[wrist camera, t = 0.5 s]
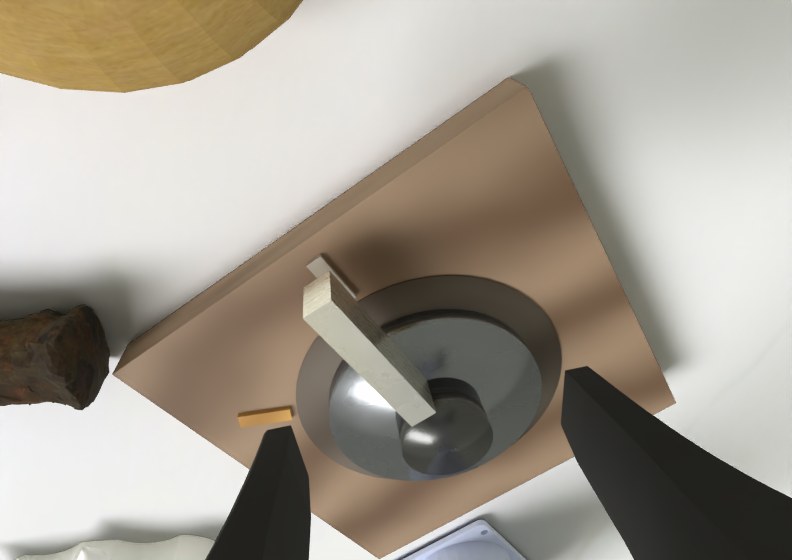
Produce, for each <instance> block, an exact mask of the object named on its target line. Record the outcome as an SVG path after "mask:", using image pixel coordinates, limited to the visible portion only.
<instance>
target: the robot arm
mask: <svg viewBox="0 0 792 560" xmlns="http://www.w3.org/2000/svg"><path fill="white" fill-rule="evenodd" d="M561 426H562V429H563V431H564V433H565V436H566V438H567V440H568V443H569V445H570V447H571V449H572V451H573V454H574V456H575V458H576V460H577V462H578V464H579V466H580V467H581V469H582V471H583V472H584V474H585V476H586V478H587V479H588V481H589V483H590V484H591V486H592V488H593V490H594V491H595V493H596V495H597V496H598V498H599V500H600V501H601V503H602V505H603V506H604V508H605V510H606V511H607V513H608V515H609V516H610V518H611V520H612V522H613V523H614V525H615V527H616V528H617V530H618V532H619V533H620V535H621V537H622V538H623V540H624V542H625V544H626V545H627V547H628V549H629V551H630V553H631V555H632V556H633V558H634V560H792V498H791V497H789V496H787V495H785V494H783V493H781V492H779V491H776V490H774V489H772V488H770V487H769V486H767V485H765V484H763V483H761V482H759V481H757V480H755V479H753V478H752V477H750V476H748V475H746V474H745V473H743V472H741V471H739V470H738V469H736V468H734V467H732V466H730V465H729V464H727V463H725V462H723V461H722V460H720V459H718V458H717V457H715V456H713V455H712V454H710V453H708V452H707V451H705V450H704V449H702V448H700V447H699V446H697V445H696V444H694V443H693V442H691V441H690V440H688V439H687V438H685V437H683V436H682V435H680V434H679V433H678V432H676V431H675V430H673V429H672V428H670V427H669V426H667V425H666V424H665V423H663V422H662V421H660V420H659V419H658V418H656V417H655V416H653V415H652V414H651V413H649V412H648V411H646V410H645V409H644V408H642V407H641V406H640V405H638V404H637V403H635V402H634V401H633V400H631V399H630V398H629V397H628V396H626V395H625V394H624V393H622V392H621V391H620V390H618V389H617V388H616V387H614V386H613V385H612V384H610V383H609V382H608V381H607V380H605V379H604V378H603V377H601V376H600V375H599V374H597V373H596V372H595V371H593V370H592V369H591V368H589V367H588V366H584V367H579V368H574V369H569V370H565V375H564V388H563V401H562V414H561ZM310 525H311V508H310V488H309V475H308V473H307V470H306V467H305V464H304V461H303V458H302V455H301V452H300V450H299V447H298V444H297V441H296V438H295V435H294V432H293V429H292V427H291V425H290V426H285V427H280V428H275V429H270V430H267V431H266V432H265V433H264V435H263V438H262V440H261V443H260V446H259V448H258V451H257V453H256V456H255V458H254V461H253V463H252V466H251V468H250V470H249V473H248V475H247V477H246V480H245V482H244V484H243V486H242V488H241V490H240V493H239V495H238V497H237V499H236V501H235V503H234V505H233V508H232V510H231V512H230V514H229V516H228V518H227V520H226V522H225V524H224V525H223V527H222V529H221V531H220V533H219V535H218V537H217V539H216V541H215V542H214V544H213V546H212V548H211V550H210V552H209V554H208V555H207V557H206V559H205V560H309V544H310ZM402 560H526V559H525V558H524V557H523V556H522V555H521V554H520V553H519V552H518V551H517V550H516V549H515V548H514V547H512V546H511V545H510V544H509V543H508V542H507V541H506V540H505V539H504V538H503V537H502V536H501V535H500V534H499V533H498V532H497V531H496V530H494V529H493V528H492V527H491V526H490V525H489V524H488V523H487V522H486V521H484V520H477V521H475V522H473V523H471V524H469V525H467V526H466V527H464V528H462V529H460V530H458V531H456V532H454V533H452V534H450V535H448V536H446V537H444V538H442V539H441V540H439V541H437V542H435V543H433V544H431V545H429V546H427V547H425V548H423V549H421V550H419V551H418V552H416V553H414V554H412V555H410V556H408V557H406V558H404V559H402Z"/></svg>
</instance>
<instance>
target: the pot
mask: <svg viewBox="0 0 792 560" xmlns="http://www.w3.org/2000/svg"><path fill="white" fill-rule="evenodd" d="M302 1H303V0H0V73H2V74H6V75H10V76H14V77H18V78H21V79H25V80H29V81H33V82H37V83H41V84H45V85H48V86H52V87H56V88H60V89H74V90H90V91H106V92H122V93H125V92H131V91H137V90H143V89H149V88H155V87H161V86H167V85H173V84H179V83H184V82H186V81H190V80H192V79H195V78H197V77H199V76H201V75H203V74H206V73H208V72H210V71H212V70H214V69H217V68H219V67H221V66H223V65H225V64H227V63H230V62H232V61H234V60H236V59H238V58H240V57H241V56H243V55H244V54H245V53H246V52H248V51H249V50H251V49H253V48H254V47H255V46H256V45H258V44H259V43H260V42H261V41H262V40H264V39H265V38H266V37H267V36H268V35H270V34H271V33H272V32H273V31H275V30H276V29H277V28H278V27H279V26H281V25H282V24H283V23H284V22H286V21H287V20H288V19H289V18H290V17H291V15H292V14H293V13H294V11H295V10H296V9H297V7H298V6H299V5H300V3H301V2H302Z"/></svg>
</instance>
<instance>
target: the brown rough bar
mask: <svg viewBox="0 0 792 560" xmlns="http://www.w3.org/2000/svg"><path fill="white" fill-rule="evenodd" d="M109 356H110V351H109V348H108V347H107V344H106V340H105V334H104V330H103V328H102V326H101V323H100V321H99V319H98V317H97V316H96V315H95V313H94V312H93V310H92V309H91V308H90V307H88V306H86V305H79V306H77V307H75V308H73V309H71V310H70V311H69V312H68V313H67V314H66V315H61V314H59V313H56V312H54V311H52V310H49V309H47V310H44V311H41V312H39V313H38V314H32V315H29V316H28V317H26V318H25V319H15V320H7V321H0V406H6V405H11V404H29V405H31V404H37V403H42V402H52V403H54V402H55V403H60V404H64V405H66V404H67V405H69V406H72V407H74V409H77V410H83V409H84V408H85V407H88V406H89V405H90V404H91V403H92V402H93V401H94V400H95V398H96V397H97V395H98V393H99V391H100V389H101V386H102V384H103V382H104V379H105V378H106V377H107V375H108V373H109Z"/></svg>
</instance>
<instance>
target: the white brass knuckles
mask: <svg viewBox="0 0 792 560" xmlns="http://www.w3.org/2000/svg"><path fill="white" fill-rule="evenodd" d="M214 542H215V541H213V540H211V539H208V538H204V537H200V536H194V535H179V536H177V537H175V538H172V539H169V540H165V541H161V542H154V543H134V542H127V541H122V540H118V539H114V540H101V541H87V542H80V543H79V544H77V545H76V546H74V547H72V548H70V549H68V550H66V551H63V552H59V553H54V554H48V555H24V556H22V557H19V558H17V559H15V560H205V559H206V557H207V555H208V554H209V552H210V550H211V548H212V546H213V544H214Z"/></svg>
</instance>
